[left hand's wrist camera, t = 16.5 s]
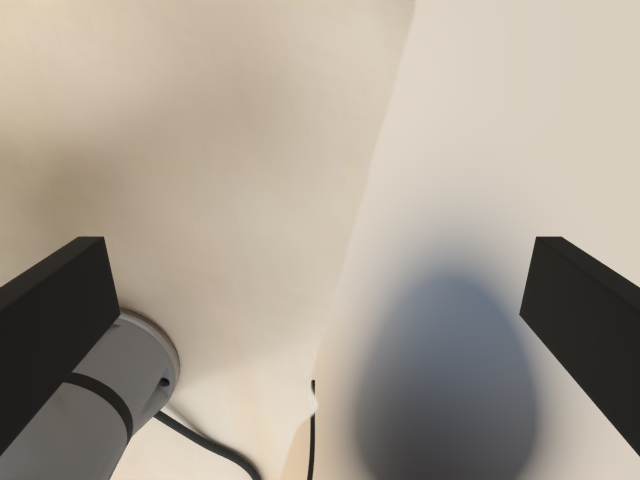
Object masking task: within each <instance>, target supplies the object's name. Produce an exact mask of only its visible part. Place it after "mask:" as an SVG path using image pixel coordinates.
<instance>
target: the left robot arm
mask: <svg viewBox="0 0 640 480" xmlns="http://www.w3.org/2000/svg"><path fill="white" fill-rule="evenodd" d="M519 315H520V316H521V317H522V318H523V320H524V321H525V322H526V323H527V324H528V325H529V327H530V328H531V329H532V330H533V331H534V333H535V334H536V335H537V336H538V337H539V338H540V340H541V341H542V342H543V343H544V344H545V346H546V347H547V348H548V349H549V350H550V351H551V353H552V354H553V355H554V356H555V357H556V358H557V360H558V361H559V362H560V363H561V364H562V366H563V367H564V368H565V369H566V370H567V371H568V373H569V374H570V375H571V376H572V377H573V379H574V380H575V381H576V382H577V383H578V384H579V386H580V387H581V388H582V389H583V390H584V391H585V393H586V394H587V395H588V396H589V397H590V399H591V400H592V401H593V402H594V403H595V404H596V406H597V407H598V408H599V409H600V410H601V412H602V413H603V414H604V415H605V416H606V417H607V419H608V420H609V421H610V422H611V423H612V424H613V426H614V427H615V428H616V429H617V430H618V431H619V433H620V434H621V435H622V436H623V437H624V439H625V440H626V441H627V442H628V443H629V445H630V446H631V447H632V448H633V449H634V450H635V452H636V453H637V454H638V455H639V456H640V287H638V286H636V285H635V284H633V283H632V282H630V281H629V280H627V279H626V278H624V277H623V276H621V275H620V274H618V273H617V272H615V271H613V270H612V269H610V268H609V267H607V266H606V265H604V264H603V263H601V262H600V261H598V260H596V259H595V258H593V257H592V256H590V255H589V254H587V253H586V252H584V251H583V250H581V249H580V248H578V247H576V246H575V245H573V244H572V243H570V242H569V241H567V240H566V239H564V238H563V237H536V240H535V244H534V249H533V254H532V258H531V263H530V267H529V272H528V277H527V281H526V286H525V291H524V295H523V300H522V305H521V309H520V314H519ZM179 370H180V367H179V359H178V356H177V353H176V350H175V348H174V346H173V344H172V343H171V341H170V340H169V338H168V337H167V336H166V335H165V333H164V332H163V331H162V330H161V329H160V328H158V327H157V326H156V325H155V324H154V323H152V322H151V321H149V320H148V319H146V318H144V317H143V316H141V315H139V314H136V313H134V312H131V311H129V310H125V309H122V308H119V304H118V300H117V295H116V290H115V286H114V281H113V277H112V272H111V267H110V263H109V258H108V254H107V249H106V244H105V240H104V237H77V238H76V239H74V240H73V241H71V242H70V243H68V244H67V245H65V246H63V247H62V248H60V249H59V250H57V251H56V252H54V253H53V254H51V255H50V256H48V257H47V258H45V259H43V260H42V261H40V262H39V263H37V264H36V265H34V266H33V267H31V268H30V269H28V270H27V271H25V272H23V273H22V274H20V275H19V276H17V277H16V278H14V279H13V280H11V281H10V282H8V283H7V284H5V285H3V286H2V287H0V480H110V478H111V476H112V474H113V472H114V470H115V468H116V466H117V464H118V462H119V460H120V458H121V456H122V454H123V452H124V450H125V448H126V447H127V445H128V443H129V441H130V439H131V437H132V436H133V435H134V434H135V433H136V432H137V431H138V430H139V429H140V428H142V427H143V426H144V425H145V424H146V423H147V422H148V421H149V420H150V419H151V418H152V417H154V418H156V419H158V420H159V421H161V422H162V423H164V424H166V425H167V426H169V427H171V428H172V429H174V430H175V431H177V432H179V433H180V434H182V435H184V436H185V437H187V438H189V439H190V440H192V441H194V442H195V443H197V444H199V445H200V446H202V447H204V448H206V449H208V450H210V451H212V452H214V453H216V454H218V455H220V456H223V457H225V458H227V459H229V460H231V461H233V462H234V463H236V464H238V465H239V466H241V467H242V468H243V469H244V470H245V471H246V472H247V473H248V474H249V475H250V476H251V478H252V479H253V480H260V477H259V475H258V474H257V472H256V471H255V469H254V468H253V467H252V466H251V465H250V464H249V463H248V462H247V461H246V460H244V459H243V458H242V457H240V456H238V455H237V454H235V453H233V452H231V451H229V450H227V449H225V448H222V447H220V446H218V445H216V444H214V443H212V442H210V441H208V440H207V439H205V438H203V437H201V436H200V435H198V434H196V433H195V432H193V431H192V430H190V429H188V428H187V427H185V426H184V425H182V424H180V423H179V422H177V421H176V420H174V419H172V418H171V417H169V416H168V415H166V414H165V413H163V412H161V411H160V409H161V408H162V407H163V406H164V405H165V404H166V403H167V402H168V400H169V398H170V397H171V395H172V392H173V390H174V388H175V386H176V384H177V381H178V378H179ZM311 389H312V392H313V394H314V396H315V380H311ZM314 456H315V413H314V414H313V415H312V416H310V454H309V466H308V475H307V480H312V479H313V470H314Z"/></svg>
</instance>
